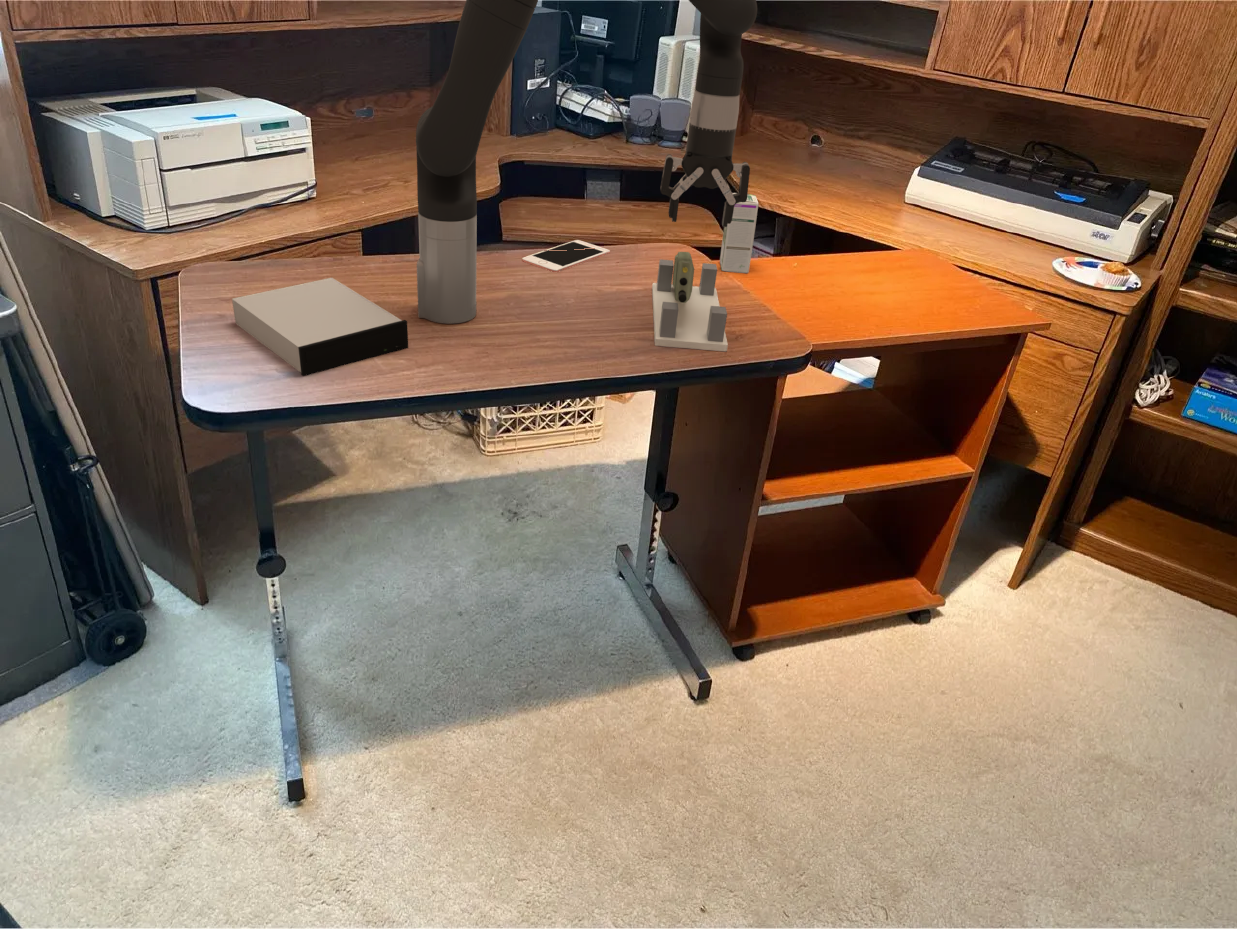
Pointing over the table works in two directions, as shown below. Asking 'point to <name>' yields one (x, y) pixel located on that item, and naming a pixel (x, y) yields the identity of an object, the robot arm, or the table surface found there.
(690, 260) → the handheld radio
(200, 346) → the table surface
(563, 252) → the cell phone
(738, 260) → the syrup box
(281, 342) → the disc drive
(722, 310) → the rack
